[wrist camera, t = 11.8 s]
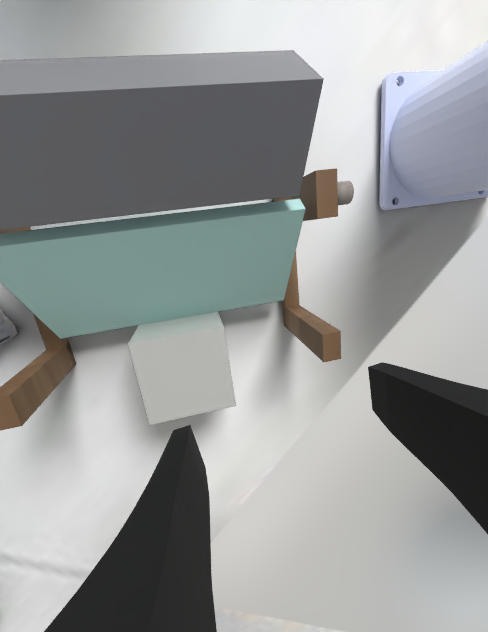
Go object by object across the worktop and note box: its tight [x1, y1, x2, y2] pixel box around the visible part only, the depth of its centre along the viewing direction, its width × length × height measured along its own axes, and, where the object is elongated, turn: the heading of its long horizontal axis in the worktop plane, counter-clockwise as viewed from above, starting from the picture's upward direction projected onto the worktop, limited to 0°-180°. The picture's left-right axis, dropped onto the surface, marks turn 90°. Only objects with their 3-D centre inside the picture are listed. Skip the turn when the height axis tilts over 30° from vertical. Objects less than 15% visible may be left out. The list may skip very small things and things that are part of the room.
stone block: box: [128, 312, 236, 425], centre depth 18 cm, size 5×5×5 cm
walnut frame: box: [0, 169, 354, 430], centre depth 15 cm, size 18×14×6 cm
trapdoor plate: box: [0, 50, 323, 339], centre depth 14 cm, size 14×12×3 cm
